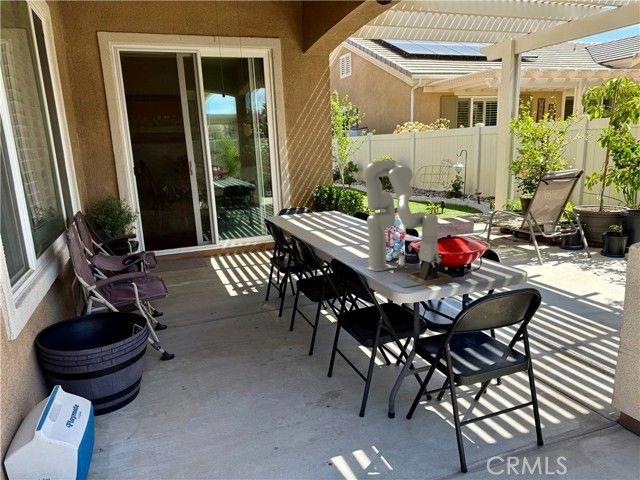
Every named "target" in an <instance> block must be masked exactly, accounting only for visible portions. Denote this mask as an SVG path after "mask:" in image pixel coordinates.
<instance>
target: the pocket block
mask: <svg viewBox="0 0 640 480" xmlns="http://www.w3.org/2000/svg"><path fill="white" fill-rule="evenodd" d="M420 271H421V270H419V271H414V272H410V273H406V279H410V280H413V281H415V282H417V283H420V284H421V285H420V286H424V287H431V286H437V285H441V284H447V283H452V282H453V277H452V276H450V275H447V274H445V273H442V272H440V271H438V276H439V277H440V278H439V279H434V280H428V281H425V280H423V279H421V278H418V277H419V274H420Z"/></svg>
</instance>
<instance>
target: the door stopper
mask: <svg viewBox="0 0 640 480" xmlns="http://www.w3.org/2000/svg"><path fill="white" fill-rule="evenodd" d="M433 261H435V260H433ZM434 264H435V263H434ZM432 267H433V265H432V263H429V262H426V261H424V263H423V266H422V269H421V270H419V271H420V274H419V277H418V278H421V279H423V280H425V281H428V280H434V279H439V276H438V274H435V275H432ZM429 272H430V275H429Z"/></svg>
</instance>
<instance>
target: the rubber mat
mask: <svg viewBox="0 0 640 480" xmlns="http://www.w3.org/2000/svg"><path fill="white" fill-rule="evenodd" d="M392 284H394V285H396V286H399V287H401V288H403V289H407V288H412V287H418V286H422V285H421V284H420V283H417V282H415V281H413V280H410V279H407V278H406V279H401V280H395V281H392Z"/></svg>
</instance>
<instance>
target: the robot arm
mask: <svg viewBox="0 0 640 480" xmlns="http://www.w3.org/2000/svg"><path fill="white" fill-rule="evenodd" d="M363 176H364V181H365V187H366V200H367V206H368V208H369V209H370V210H371V211H379V212H375V213H371V214H369V216H367V219H366V227H367V231H368V259H367V260H366V261H367V263H368V264H367V265H366V266H365V268H366V270H369V271H372V272H373V271H374V272H382V271H386V270H387V271H388V270H389V268H390V266H389V265H388V264H387V240H386V239H387V237H386V233H385V231H384V230H385V229H388V228H389V229H390V228H391V227H393V226H394V225H395V221H396V211H395V201H394V197H393V196H392V194H391V193H390V192H388V191H383V185H382V181H381V180H380V179H379V178H380V177H388V178H387V179H389V182H390V184H391V186H392V188H393V191H394V192H395V195H396V198H397V204H396V205H397V207H396V208H397V215H398V216H399V219H400V221H401V223H402V225H403V227H405V228H406V229H408V230H413V229H417V228H421V240H420V244H419V252H418V253H417V255H418V259H419V263H420V265H419V266H420V270H419V271H421V269H422V266H423V263H424V261H426V262H429V263H432V265H433V267H432V275H435V274H438V272H439V267H440V265H441V262H442V259H441V258H440V257H439V243H438V227H439V225H438V224H439V223H438V221H439V217H438V215H436V214H435V213H426V212H422V211H419V212H418V211H417V212H414V213H412V211H411V209H410V206H409V200H410V198H411V197H412V196H413V194H414V190H413V189H412V188H413V187H412V186H411V184H410V182H411V181H412V179H413V176H414V174H413V171H412V169H411V168H410V167H409V166H407V165H405V164H402V163H399V162H397V161H395V160H391V159H387V160H375V161H372V162H370V163H368V164H367V165H366V167H365V168H364V174H363ZM433 260H435V261H433ZM434 263H435V264H434Z"/></svg>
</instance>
